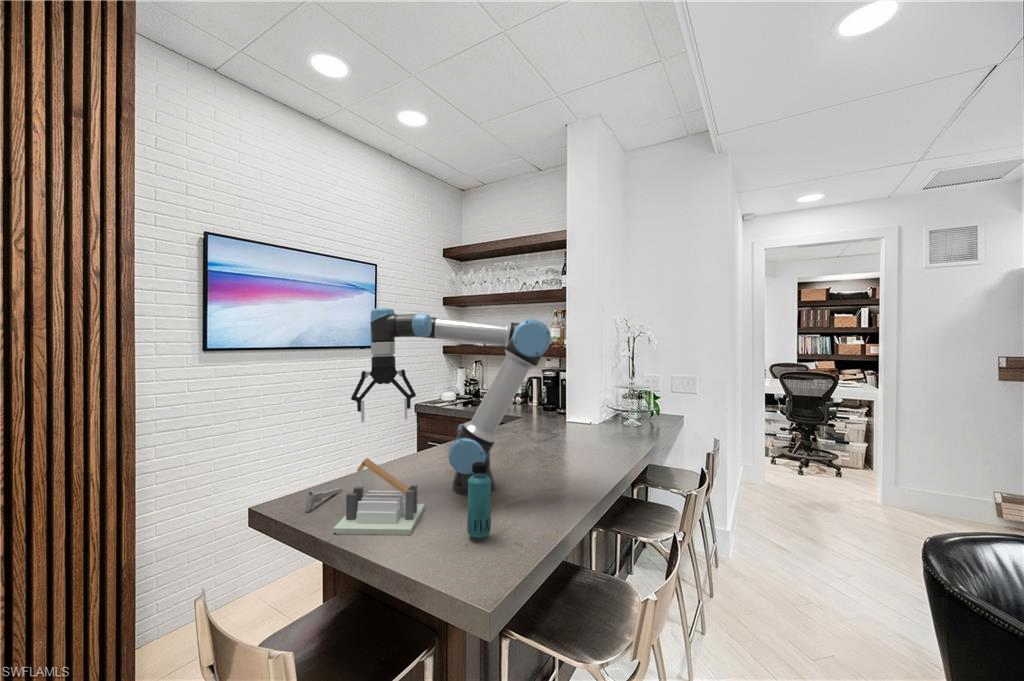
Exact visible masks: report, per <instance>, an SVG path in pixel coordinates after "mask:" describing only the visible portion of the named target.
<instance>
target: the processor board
mask: <svg viewBox="0 0 1024 681" xmlns="http://www.w3.org/2000/svg"><path fill="white" fill-rule="evenodd" d="M409 488H410V489H411V490H412V491H408V490H407V491H406V495H404V494H403V493H402V492H400V491H399V490H368V491H367V493H365V494H364V486H355V487H353V492H347V494H346V496H345V497H346V499H345V500H346V502H345V503H346V505H345V506H346V507H345V510H346V511H345V515H344V517H342V519H340V520H339V521H338V522H337V524H336V525H335V526H334V527H333V528H332V534H333V533H336V534H335V535H372V534H377V535H381V536H383V535H385V536H386V535H387V536H392V535H393V536H411V535H412V533H413V531H414V530H415V527H417V524H418V522H419V520H420V519H421V516H422V515H423V513H424V511H425V507H426V506H425V505H426V504H425V503H418V484H409ZM414 491H415V495H414ZM377 535H376V536H377Z"/></svg>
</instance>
